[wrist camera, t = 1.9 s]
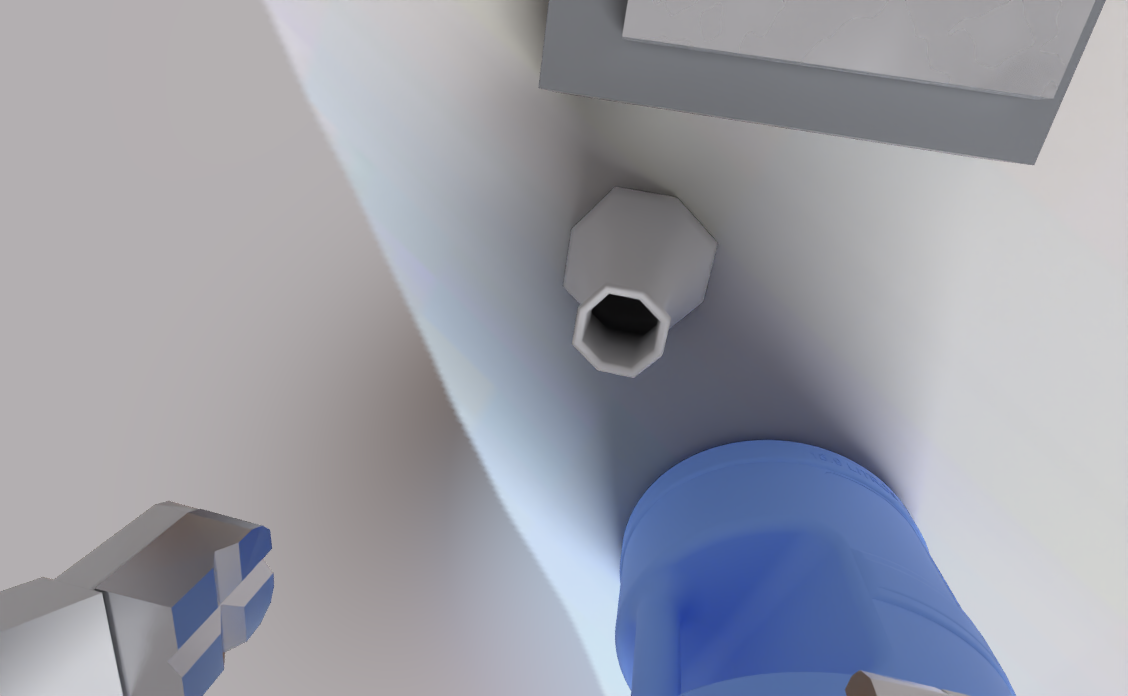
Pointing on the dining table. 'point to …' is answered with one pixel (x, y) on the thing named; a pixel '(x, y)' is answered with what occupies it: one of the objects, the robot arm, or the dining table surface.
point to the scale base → (790, 90)
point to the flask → (634, 277)
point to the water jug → (785, 583)
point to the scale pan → (882, 37)
